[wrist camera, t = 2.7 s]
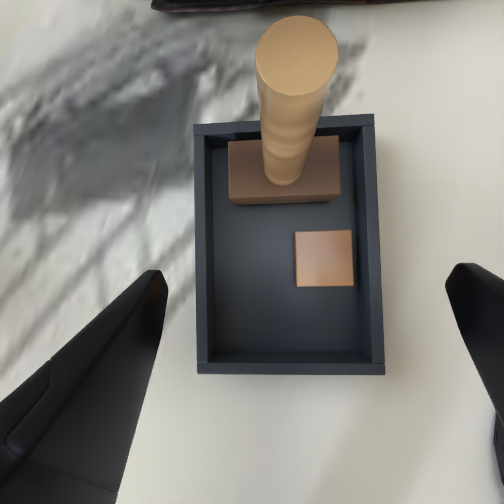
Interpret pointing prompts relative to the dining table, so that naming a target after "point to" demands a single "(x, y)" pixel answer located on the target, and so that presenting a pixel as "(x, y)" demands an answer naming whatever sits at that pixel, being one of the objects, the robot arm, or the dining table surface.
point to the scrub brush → (289, 119)
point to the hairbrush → (499, 445)
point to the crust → (323, 258)
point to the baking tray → (285, 265)
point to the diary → (238, 4)
